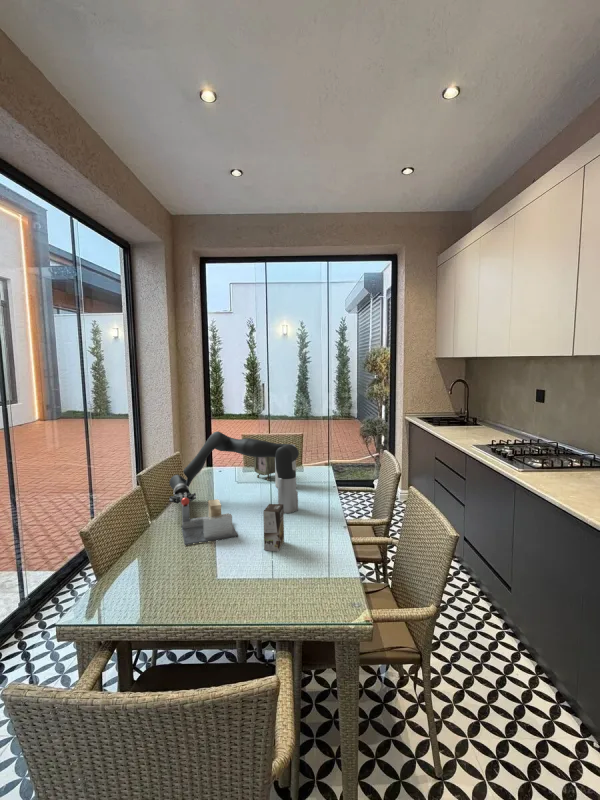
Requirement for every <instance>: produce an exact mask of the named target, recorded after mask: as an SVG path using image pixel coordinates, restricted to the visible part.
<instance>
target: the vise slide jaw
mask: <svg viewBox="0 0 600 800" xmlns="http://www.w3.org/2000/svg"><path fill="white" fill-rule="evenodd" d="M181 504H182V505H181ZM180 505H181V518H182V519H181V520H182V521H181V522H182V523H181V524H182V525H183V529H185V528H192V527H199V526H203V518H205V517H209V515H207V516H206V515H205V516H200V517H193V518H190V502H189V499H188V498H186V497H185V498H183V499H182V500H181V503H180ZM226 514H230V513H221V515H226Z"/></svg>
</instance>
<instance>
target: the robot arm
mask: <svg viewBox="0 0 600 800" xmlns="http://www.w3.org/2000/svg"><path fill="white" fill-rule="evenodd" d="M266 441H267V440H262V439H261V440H260V439H255V438H241V439H238V438H233V437H231V436H228V435H226V434H224V433H223V432H220V431H213V433H211V434H210V435H209V437H208V438H207V440H206V441H205V443H204V444H203V446H202V447H201V449H200V450H199V452H198V453H197V454H196V455H195V456H194V458H193V459H192V460H191V461H190V462H189V463H188V464H187V466H185V468H184V469H183V470H182V471H183V474H184V476H185V477H186V479H185V478H184V477H183V476H181V475H180V474H174V475H173V476H172V477H171V478H170V480H169V486H170V487H171V489H172V490H173V496H172V495H170V496H169V503H173V504H180V505H181V506H182V504H181V500H182V499H183V498H185V497H186V498H188V499H189V503H190V502H192V501H194V500H195V499H197V493H196V492H193V493H191V492H190V489H189V487H190V485H191V483H192V482H193V480H194V479H195V477H197V475H198V474H199V473H200V472H201V470H202V469H203V468H204V466H205V463H206V461H207V459H208V457H209V455H210V454H211V453H212V452H213V451H214V450H216V451H219V452H230V453H231V452H232V453H236V454H240V455H244V456H247V457H253V458H254V457H275V461H276V471H277V474H278V488H277V497H278V498H277V501H278V502H277V504H283V507H284V514H292V513H294V511H295V512H298V511H299V501H298V499H299V496H298V495H299V493H298V491H297V472H296V471H295V470H293V468H292V462H293V461H295V460H296V461H297V459H298V457H299V454H300V452H299V450H298V448H297V447H296V445H295V446H293V445H294V444H292V445H291V443H276V442H270V441H267V442H266ZM297 510H298V511H297ZM291 512H292V513H291Z"/></svg>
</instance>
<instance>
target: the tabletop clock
mask: <svg viewBox="0 0 600 800" xmlns="http://www.w3.org/2000/svg"><path fill="white" fill-rule="evenodd" d="M265 441H266V442H268V441H267V440H265ZM253 468H254V472H255V473H256V474H258V475H256V478H260V475H261V476H266V477H267V478H266V481H268V482H269V481H270V478H271V476H270V475H271V474H275V457H253Z"/></svg>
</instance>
